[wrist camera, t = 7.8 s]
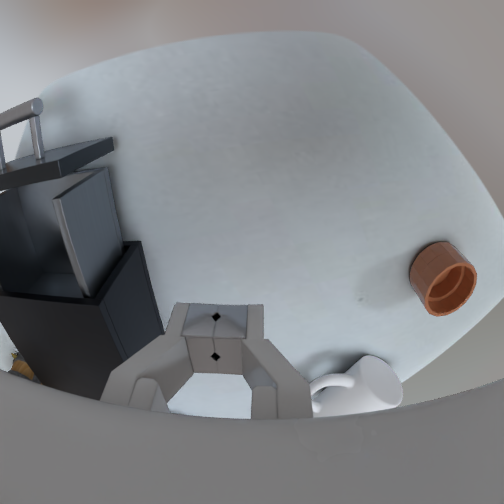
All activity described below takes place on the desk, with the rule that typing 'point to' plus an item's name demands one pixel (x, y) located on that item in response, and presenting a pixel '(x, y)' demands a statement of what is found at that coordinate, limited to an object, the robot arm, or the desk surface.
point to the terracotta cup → (442, 278)
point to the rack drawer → (56, 216)
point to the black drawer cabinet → (85, 327)
